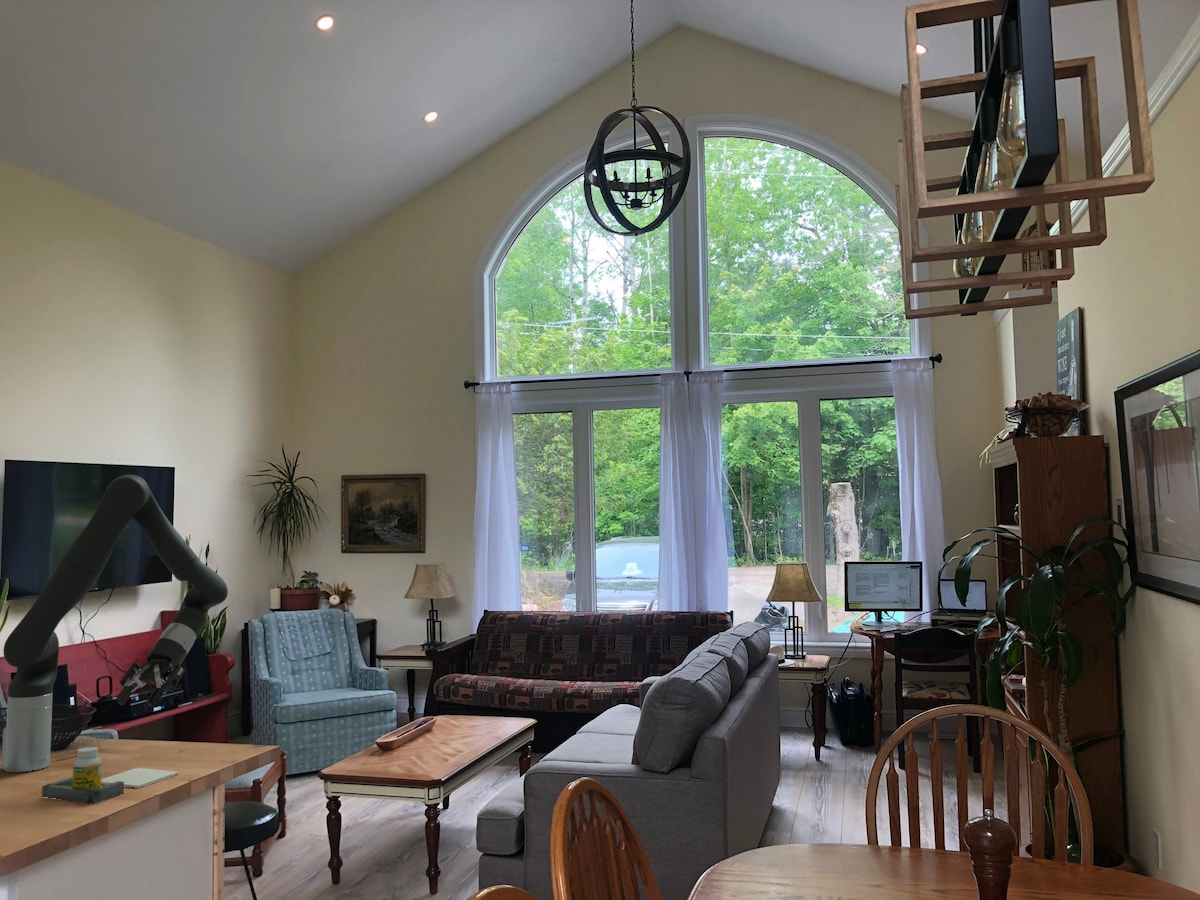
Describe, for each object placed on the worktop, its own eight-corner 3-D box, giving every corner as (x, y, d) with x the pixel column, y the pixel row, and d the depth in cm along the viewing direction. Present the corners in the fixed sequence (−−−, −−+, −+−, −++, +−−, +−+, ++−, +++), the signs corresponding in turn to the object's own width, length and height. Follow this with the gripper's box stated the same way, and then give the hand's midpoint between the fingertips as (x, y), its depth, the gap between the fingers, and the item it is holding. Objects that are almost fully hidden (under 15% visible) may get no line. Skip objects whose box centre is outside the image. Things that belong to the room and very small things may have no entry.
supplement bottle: (103, 790, 203) (105, 745, 203) (96, 797, 197) (98, 751, 198) (76, 792, 201) (78, 746, 202) (68, 799, 196) (70, 752, 197)
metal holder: (41, 798, 197) (42, 786, 197) (73, 788, 204) (73, 776, 205) (93, 804, 193) (94, 791, 193) (123, 793, 200) (123, 781, 200)
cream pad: (95, 784, 207) (95, 781, 208) (137, 770, 219) (137, 767, 219) (138, 788, 204) (138, 785, 204) (178, 774, 215) (178, 771, 215)
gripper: (140, 636, 224) (100, 693, 212) (188, 637, 219) (150, 695, 208) (157, 655, 228) (118, 712, 217) (204, 656, 224) (168, 715, 212)
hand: (134, 704), depth 212 cm, fingers open, 8 cm apart
